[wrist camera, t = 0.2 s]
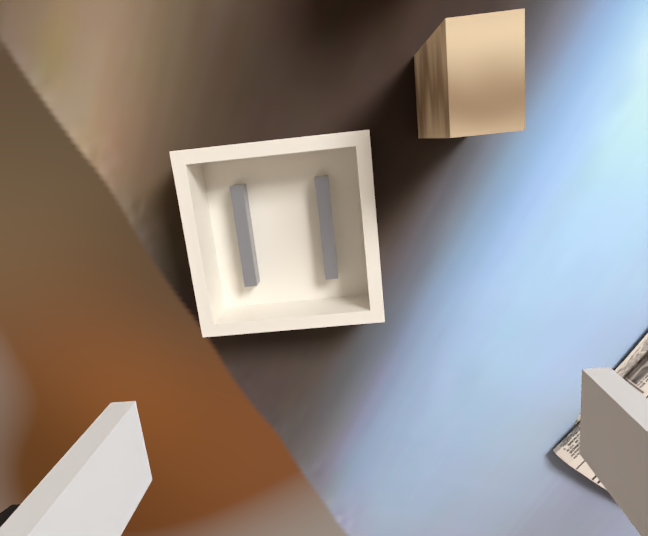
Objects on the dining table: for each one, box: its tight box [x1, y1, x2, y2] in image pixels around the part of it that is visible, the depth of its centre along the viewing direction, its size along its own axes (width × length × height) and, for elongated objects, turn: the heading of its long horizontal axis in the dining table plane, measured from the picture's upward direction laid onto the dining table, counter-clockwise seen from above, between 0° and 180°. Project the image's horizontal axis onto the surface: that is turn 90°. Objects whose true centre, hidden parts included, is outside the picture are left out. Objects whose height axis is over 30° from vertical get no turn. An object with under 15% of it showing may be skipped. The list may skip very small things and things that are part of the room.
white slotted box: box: [169, 130, 385, 337], centre depth 38 cm, size 14×14×5 cm
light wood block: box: [414, 9, 525, 138], centre depth 32 cm, size 6×4×12 cm, turn 6°
